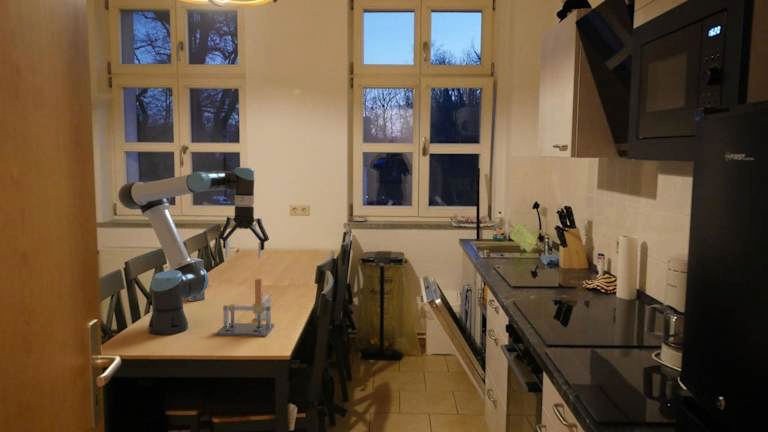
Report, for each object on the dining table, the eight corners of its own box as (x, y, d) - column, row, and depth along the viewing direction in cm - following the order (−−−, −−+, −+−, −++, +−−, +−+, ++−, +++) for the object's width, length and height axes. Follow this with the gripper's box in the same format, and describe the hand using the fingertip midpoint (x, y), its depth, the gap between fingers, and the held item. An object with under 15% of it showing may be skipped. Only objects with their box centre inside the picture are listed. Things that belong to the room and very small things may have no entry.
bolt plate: (216, 335, 216) (216, 332, 216) (226, 325, 229) (226, 322, 229) (266, 336, 215) (266, 333, 215) (274, 326, 228) (274, 323, 228)
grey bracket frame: (223, 327, 223) (223, 305, 222) (225, 325, 226) (224, 304, 225) (269, 328, 222) (269, 306, 222) (270, 326, 225) (270, 304, 224)
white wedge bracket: (278, 309, 245) (270, 295, 241) (262, 325, 239) (254, 310, 235) (273, 308, 247) (265, 293, 243) (257, 323, 241) (249, 308, 237)
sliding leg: (253, 327, 222) (253, 280, 220) (256, 324, 226) (255, 278, 224) (262, 327, 222) (261, 280, 220) (264, 324, 225) (264, 278, 224)
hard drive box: (205, 299, 272) (204, 260, 270) (190, 302, 266) (189, 262, 264) (190, 294, 282) (189, 256, 280) (175, 296, 277) (174, 257, 275)
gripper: (210, 205, 218) (210, 257, 221) (272, 207, 217) (271, 260, 220) (217, 203, 226) (216, 254, 228) (276, 206, 225) (275, 256, 227)
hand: (243, 257), depth 224 cm, fingers open, 13 cm apart
